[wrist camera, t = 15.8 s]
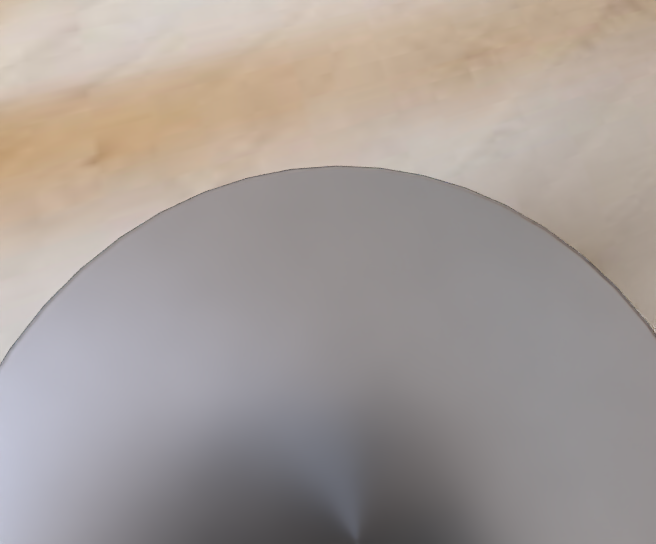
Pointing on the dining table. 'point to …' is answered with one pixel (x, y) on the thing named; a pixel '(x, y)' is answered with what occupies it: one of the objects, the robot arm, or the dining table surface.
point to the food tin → (332, 378)
